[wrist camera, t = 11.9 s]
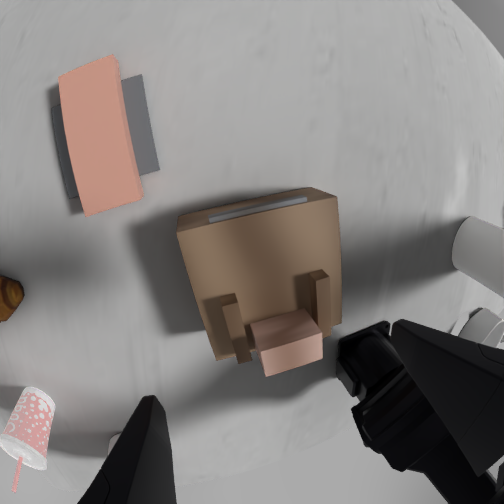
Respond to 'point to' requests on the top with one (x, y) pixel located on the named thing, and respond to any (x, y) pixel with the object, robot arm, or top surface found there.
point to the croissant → (9, 297)
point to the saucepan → (484, 329)
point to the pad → (137, 129)
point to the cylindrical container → (480, 253)
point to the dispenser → (266, 276)
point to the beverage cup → (29, 431)
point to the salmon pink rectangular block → (99, 136)
